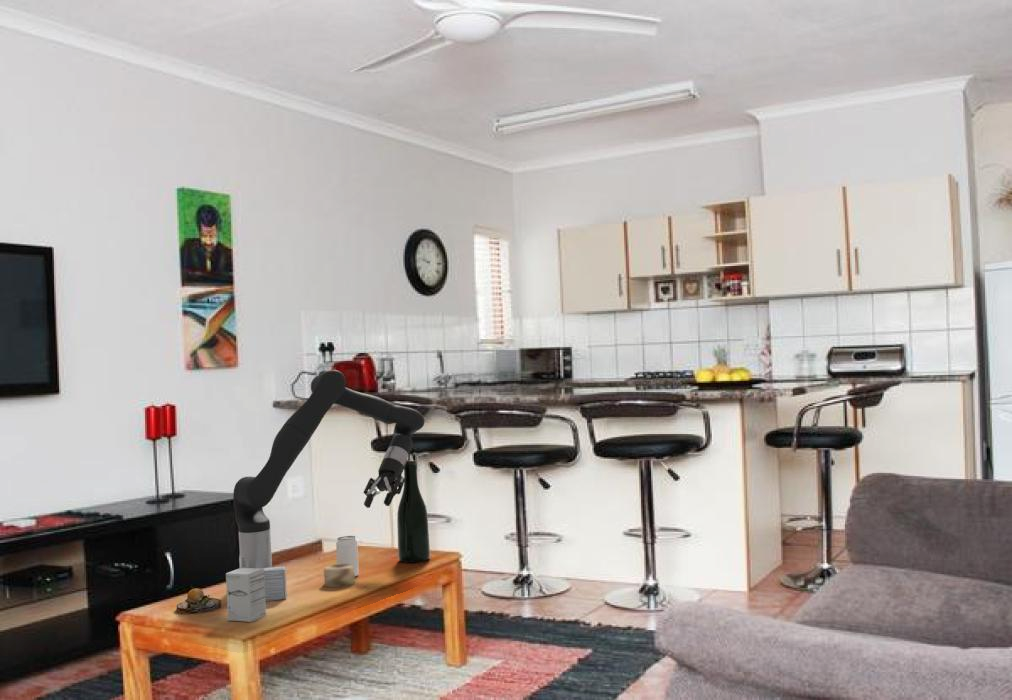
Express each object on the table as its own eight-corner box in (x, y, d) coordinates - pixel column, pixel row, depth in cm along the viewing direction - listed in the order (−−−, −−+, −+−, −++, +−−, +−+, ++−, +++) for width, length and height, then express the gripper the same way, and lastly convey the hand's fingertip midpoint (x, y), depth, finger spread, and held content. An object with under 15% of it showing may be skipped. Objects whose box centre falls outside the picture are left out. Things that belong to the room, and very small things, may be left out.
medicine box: (287, 596, 276) (285, 565, 276) (286, 599, 271) (284, 569, 271) (258, 598, 274) (257, 568, 275) (257, 602, 270) (256, 571, 270)
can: (361, 573, 301) (359, 535, 301) (355, 578, 294) (353, 539, 295) (341, 574, 302) (339, 535, 302) (335, 578, 295) (333, 539, 295)
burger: (229, 606, 267) (228, 580, 268) (193, 617, 258) (191, 589, 258) (204, 602, 275) (202, 576, 275) (167, 612, 265) (166, 585, 266)
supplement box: (226, 621, 251) (224, 573, 251) (244, 613, 258) (241, 566, 258) (250, 622, 248) (248, 573, 248) (267, 615, 255) (265, 567, 255)
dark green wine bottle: (406, 556, 324) (402, 458, 325) (435, 557, 320) (430, 458, 321) (393, 562, 314) (388, 462, 315) (422, 563, 311) (417, 461, 311)
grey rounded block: (327, 589, 282) (327, 572, 282) (322, 583, 291) (321, 566, 291) (357, 585, 286) (357, 568, 286) (351, 579, 294) (350, 562, 294)
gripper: (370, 459, 316) (352, 500, 306) (403, 454, 308) (385, 497, 298) (384, 471, 320) (367, 513, 310) (416, 467, 312) (399, 510, 302)
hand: (376, 505), depth 304 cm, fingers open, 8 cm apart
